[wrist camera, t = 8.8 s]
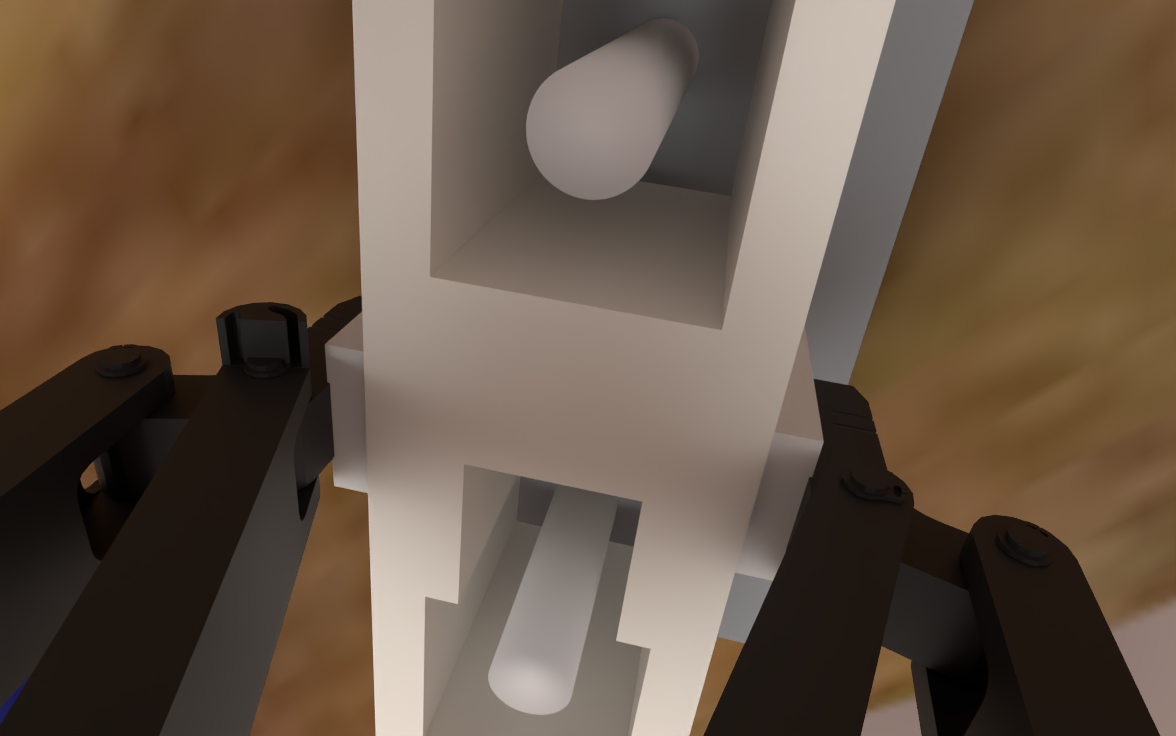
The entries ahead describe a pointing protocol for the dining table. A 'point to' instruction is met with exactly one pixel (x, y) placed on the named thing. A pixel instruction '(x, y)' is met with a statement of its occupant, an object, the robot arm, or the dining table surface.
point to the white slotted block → (574, 352)
